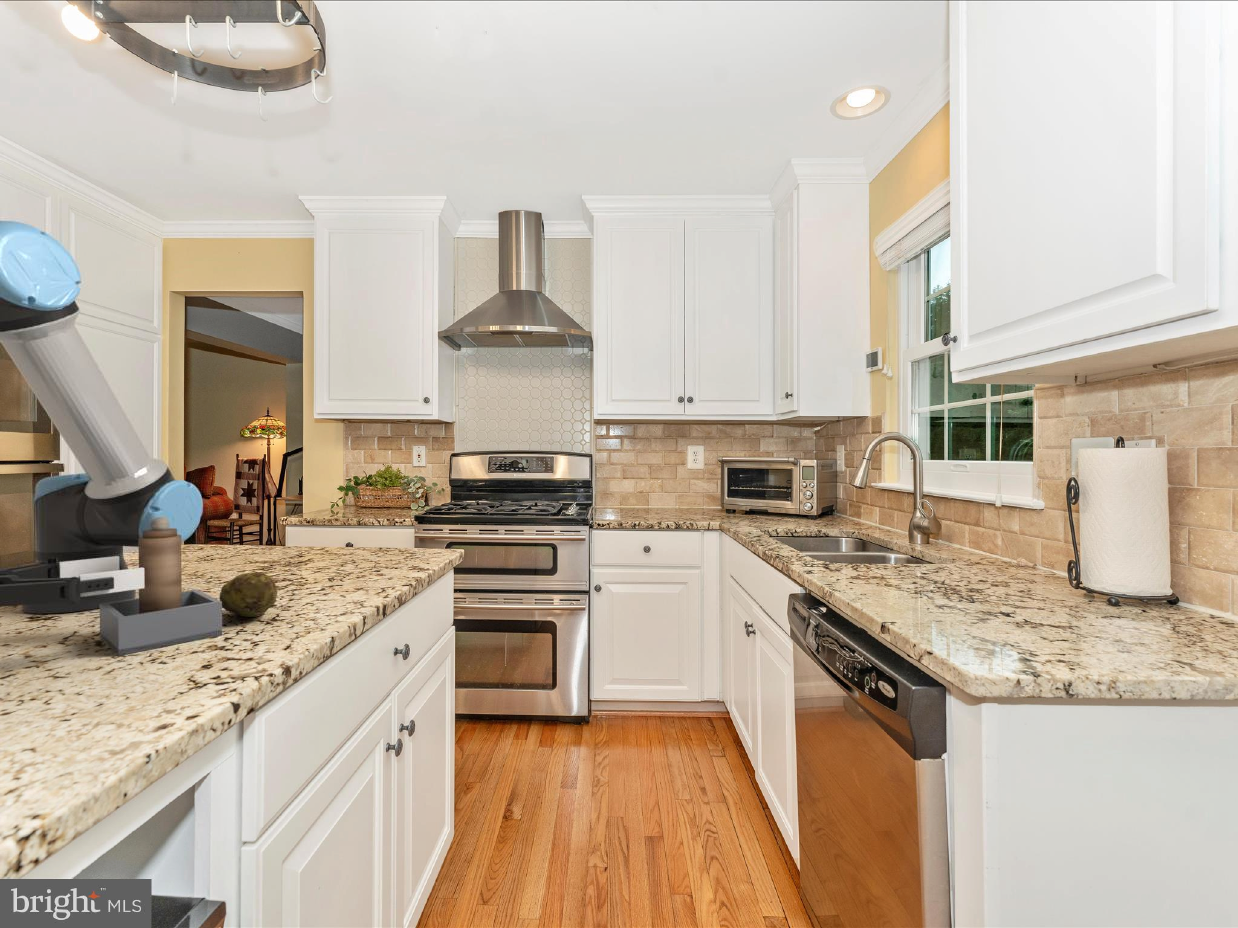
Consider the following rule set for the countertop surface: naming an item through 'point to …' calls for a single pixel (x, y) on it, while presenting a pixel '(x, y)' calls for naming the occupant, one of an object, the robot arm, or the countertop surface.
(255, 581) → the potato
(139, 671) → the countertop surface
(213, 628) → the tub
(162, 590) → the pepper mill
